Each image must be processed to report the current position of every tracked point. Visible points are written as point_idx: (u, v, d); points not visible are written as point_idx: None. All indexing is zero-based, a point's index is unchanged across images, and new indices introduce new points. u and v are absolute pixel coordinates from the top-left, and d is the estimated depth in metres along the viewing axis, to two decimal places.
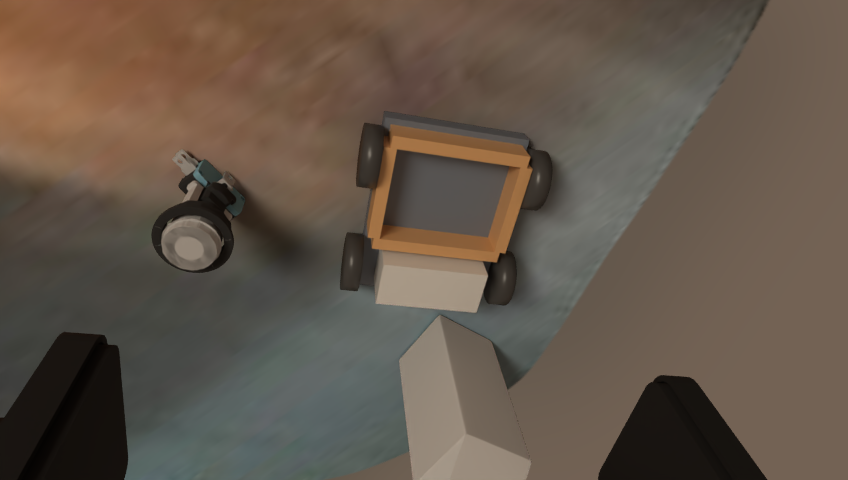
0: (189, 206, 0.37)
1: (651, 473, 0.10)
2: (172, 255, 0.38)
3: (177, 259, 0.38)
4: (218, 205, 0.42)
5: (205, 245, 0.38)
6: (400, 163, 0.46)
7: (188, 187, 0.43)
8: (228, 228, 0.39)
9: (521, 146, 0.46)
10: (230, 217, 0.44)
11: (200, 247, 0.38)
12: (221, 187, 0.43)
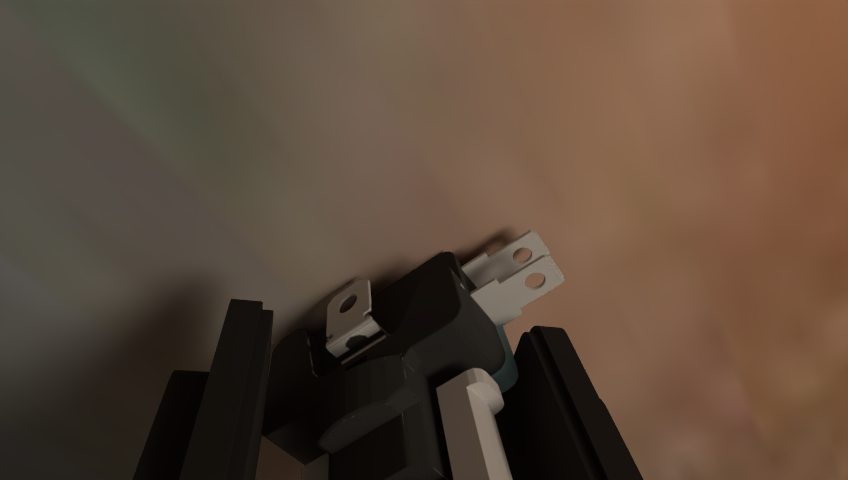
0: None
1: (520, 417, 0.10)
2: None
3: None
4: None
5: None
6: None
7: (482, 388, 0.09)
8: None
9: None
10: None
11: None
12: None
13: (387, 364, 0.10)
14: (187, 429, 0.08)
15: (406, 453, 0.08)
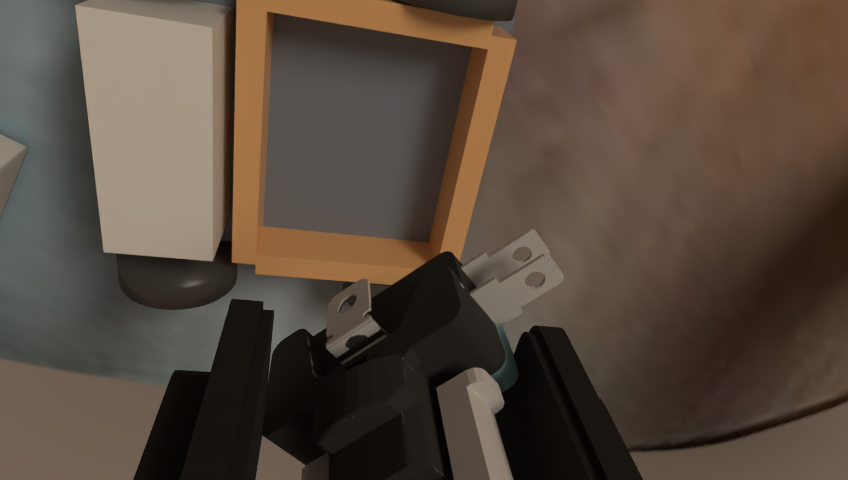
0: None
1: (520, 417, 0.10)
2: None
3: None
4: None
5: None
6: (420, 49, 0.23)
7: (482, 387, 0.09)
8: None
9: None
10: None
11: None
12: None
13: (387, 364, 0.10)
14: (188, 429, 0.08)
15: (407, 452, 0.08)
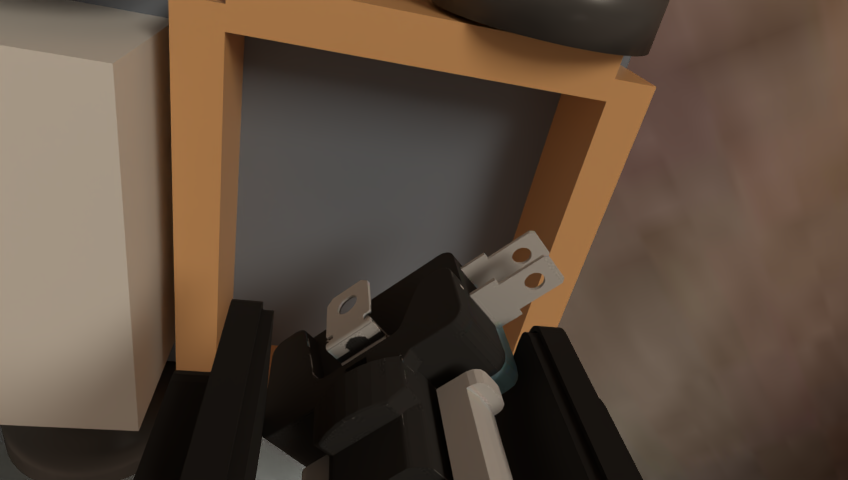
0: None
1: (520, 417, 0.10)
2: None
3: None
4: None
5: None
6: (480, 91, 0.14)
7: (482, 388, 0.09)
8: None
9: None
10: None
11: None
12: None
13: (387, 365, 0.10)
14: (188, 430, 0.08)
15: (406, 454, 0.08)
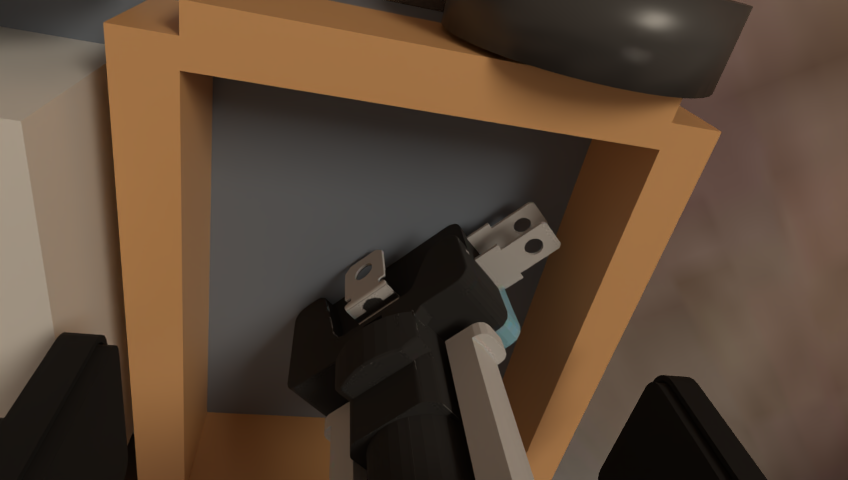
0: None
1: (651, 473, 0.10)
2: None
3: None
4: None
5: None
6: (499, 129, 0.12)
7: (486, 339, 0.11)
8: None
9: None
10: None
11: None
12: None
13: (401, 319, 0.11)
14: None
15: (419, 392, 0.10)
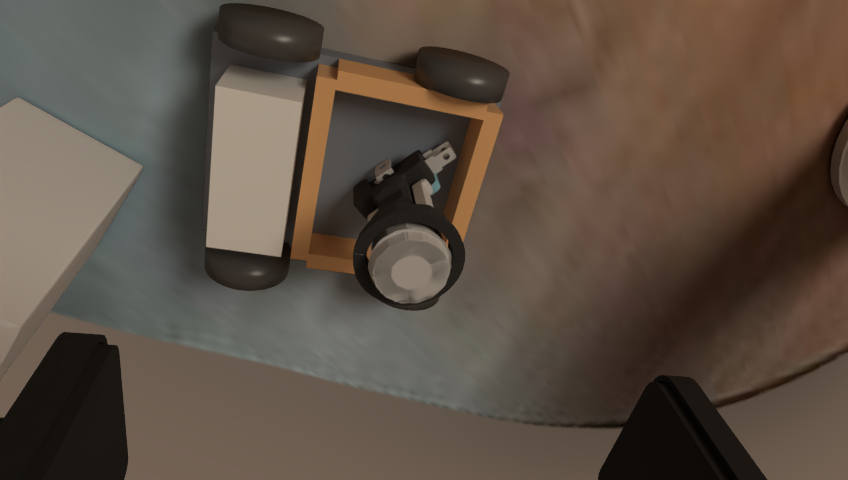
0: (463, 261, 0.27)
1: (651, 473, 0.10)
2: (401, 251, 0.25)
3: (393, 256, 0.25)
4: None
5: (415, 291, 0.26)
6: (435, 113, 0.32)
7: (425, 183, 0.31)
8: (425, 301, 0.28)
9: None
10: None
11: (412, 285, 0.26)
12: None
13: (396, 177, 0.31)
14: None
15: (402, 194, 0.30)
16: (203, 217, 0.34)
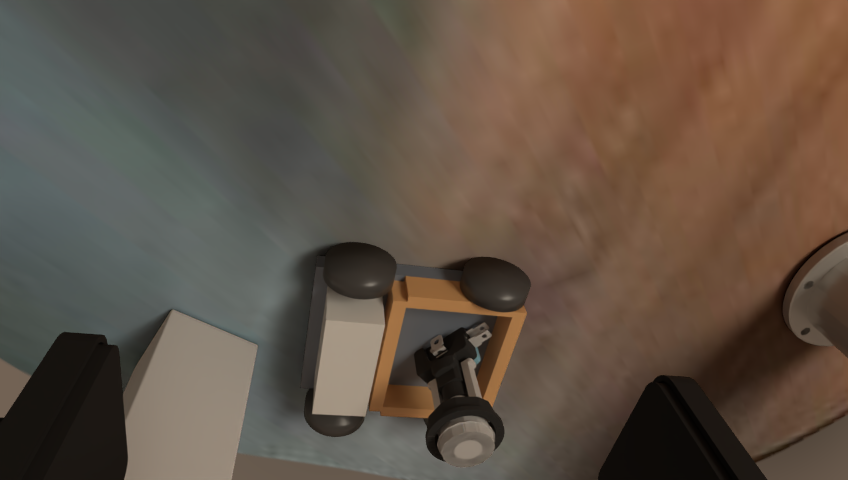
0: (503, 434, 0.38)
1: (651, 473, 0.10)
2: (461, 438, 0.36)
3: (456, 441, 0.36)
4: None
5: (470, 460, 0.37)
6: None
7: (471, 362, 0.42)
8: None
9: None
10: None
11: (468, 457, 0.37)
12: None
13: (449, 357, 0.42)
14: None
15: (455, 375, 0.41)
16: (302, 379, 0.45)
